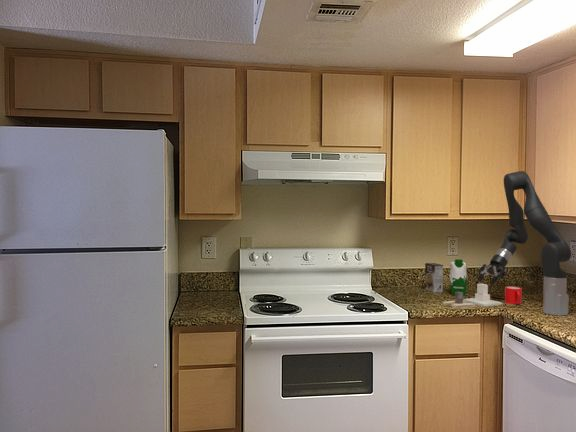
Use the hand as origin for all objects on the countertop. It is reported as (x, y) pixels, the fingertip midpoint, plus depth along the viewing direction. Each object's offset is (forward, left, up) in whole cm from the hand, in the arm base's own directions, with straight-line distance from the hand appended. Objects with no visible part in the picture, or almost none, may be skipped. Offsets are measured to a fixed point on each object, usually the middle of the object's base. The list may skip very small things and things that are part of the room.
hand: (485, 281), depth 226 cm
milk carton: (+22, -3, -11) cm, 25 cm away
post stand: (0, +18, -11) cm, 21 cm away
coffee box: (+35, +3, -11) cm, 37 cm away
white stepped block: (0, +2, -10) cm, 10 cm away
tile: (0, +2, -11) cm, 11 cm away
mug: (-8, -12, -11) cm, 18 cm away
